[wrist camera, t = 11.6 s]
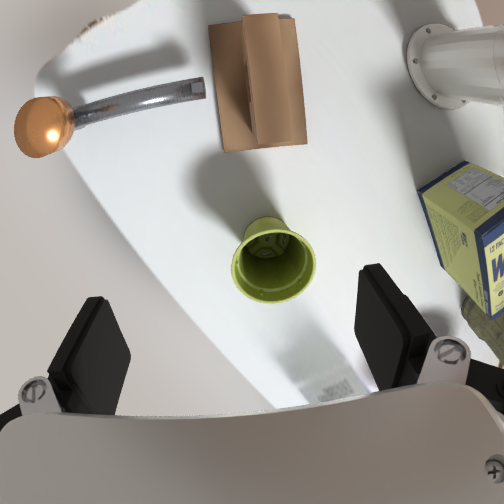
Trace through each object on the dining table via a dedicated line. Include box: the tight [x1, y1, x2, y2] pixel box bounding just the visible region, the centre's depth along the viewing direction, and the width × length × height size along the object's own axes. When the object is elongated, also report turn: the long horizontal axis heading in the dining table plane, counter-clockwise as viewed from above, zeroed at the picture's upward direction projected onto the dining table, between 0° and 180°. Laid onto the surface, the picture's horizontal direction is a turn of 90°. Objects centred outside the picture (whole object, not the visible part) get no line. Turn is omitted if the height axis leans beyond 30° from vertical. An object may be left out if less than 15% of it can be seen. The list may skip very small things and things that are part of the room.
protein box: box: [417, 161, 504, 321], centre depth 36 cm, size 10×16×16 cm
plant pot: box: [231, 217, 316, 304], centre depth 40 cm, size 9×9×9 cm
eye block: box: [208, 13, 307, 153], centre depth 29 cm, size 10×16×11 cm, turn 6°
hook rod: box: [14, 77, 206, 158], centre depth 28 cm, size 19×6×10 cm, turn 96°
